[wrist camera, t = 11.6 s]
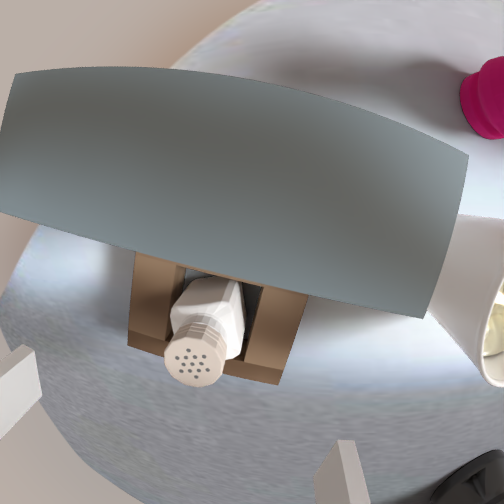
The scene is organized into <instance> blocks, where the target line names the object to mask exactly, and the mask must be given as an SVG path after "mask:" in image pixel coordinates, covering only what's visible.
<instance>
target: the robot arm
mask: <svg viewBox="0 0 504 504" xmlns="http://www.w3.org/2000/svg"><path fill="white" fill-rule="evenodd" d="M41 396H42V391H41V386H40V381H39V376H38V371H37V365H36V358H35V352H34V350H32V349H31V348H29V347H27V346H25V345H24V344H22V345H21V346H19V347H18V348H17V349H15V350H14V351H13V352H11V353H10V354H9V355H7V356H6V357H5V358H3V359H2V360H1V361H0V440H1V439H2V437H3V436H4V435H5V434H6V433H7V432H8V431H9V430H10V429H11V428H12V426H14V425H15V424H16V422H17V421H18V420H19V419H20V418H21V417H22V416H23V415H24V414H25V413H26V412H27V411H28V410H29V409H30V408H31V407H32V406H33V405H34V404H35V403H36V402H37V401H38V400H39V398H40V397H41ZM313 480H314V490H315V500H316V504H371V503H370V499H369V495H368V491H367V487H366V483H365V479H364V475H363V471H362V467H361V464H360V460H359V456H358V452H357V449H356V445H355V441H350V440H337V441H336V443H335V444H334V446H333V447H332V449H331V451H330V452H329V454H328V455H327V457H326V458H325V460H324V461H323V463H322V464H321V466H320V467H319V469H318V470H317V472H316V473H315V475H314V476H313ZM431 502H432V504H504V452H503V451H502V450H494V451H491V452H488V453H486V454H484V455H482V456H480V457H478V458H477V459H475V460H473V461H472V462H470V463H468V464H467V465H465V466H464V467H463V468H461V469H460V470H458V471H457V472H456V473H454V474H453V475H452V476H451V477H449V478H448V479H447V480H446V481H445V482H444V483H443V484H442V485H441V486H440V487H439V488H438V489H437V490H436V491H435V492H434V494H433V496H432V498H431Z"/></svg>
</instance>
